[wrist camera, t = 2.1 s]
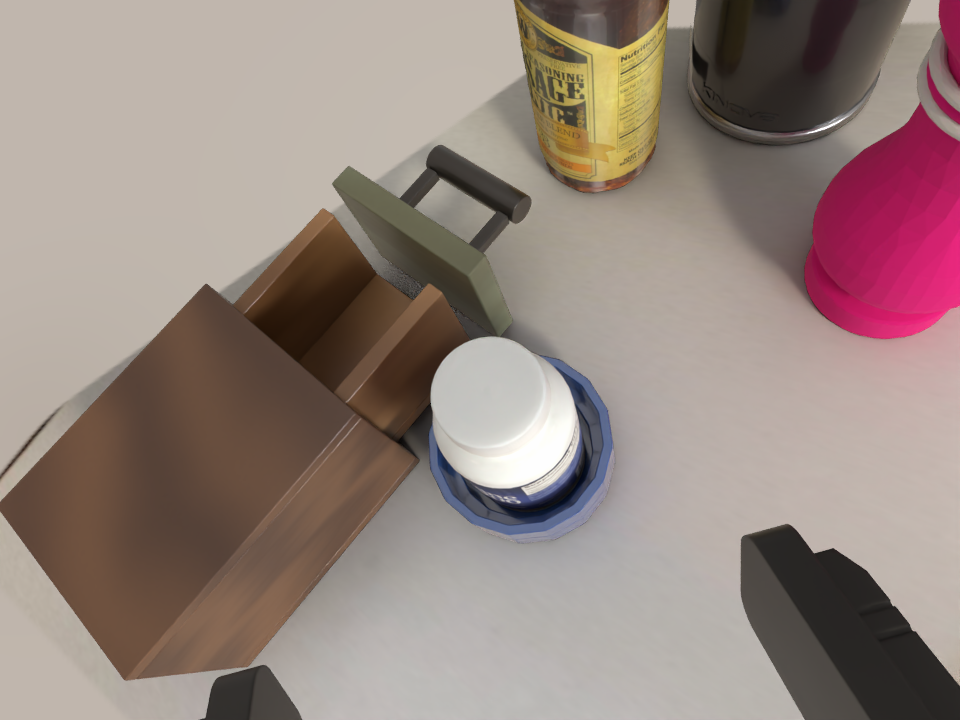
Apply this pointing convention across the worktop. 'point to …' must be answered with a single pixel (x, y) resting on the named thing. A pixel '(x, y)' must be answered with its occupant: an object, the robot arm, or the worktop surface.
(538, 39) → the sauce bottle
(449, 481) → the bowl
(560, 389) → the pill bottle
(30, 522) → the cabinet
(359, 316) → the drawer
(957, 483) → the worktop surface
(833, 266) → the pepper mill
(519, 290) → the worktop surface
